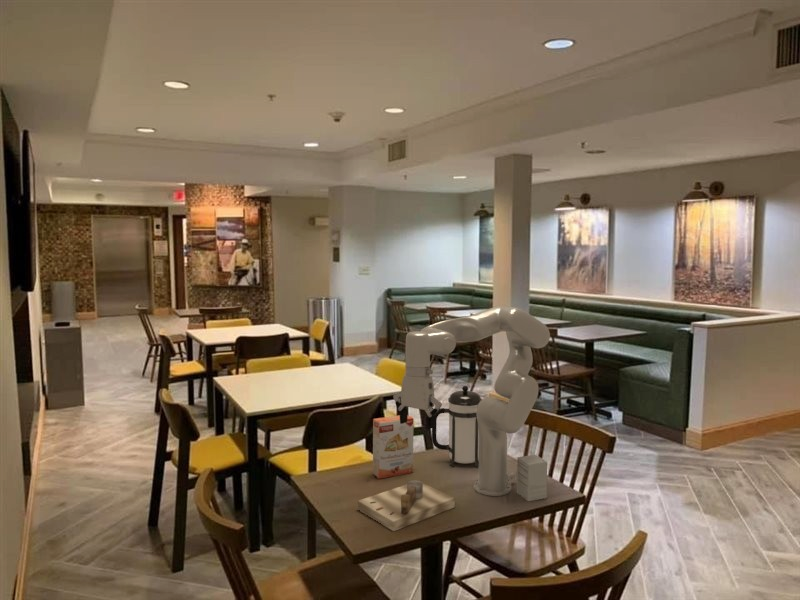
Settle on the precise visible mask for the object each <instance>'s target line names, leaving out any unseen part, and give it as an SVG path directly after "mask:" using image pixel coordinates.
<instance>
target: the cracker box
mask: <svg viewBox="0 0 800 600" xmlns="http://www.w3.org/2000/svg"><path fill="white" fill-rule="evenodd" d="M414 419H415V418H413V417H412V416H410V415H409V414H407V422H405V423H403V424H400V414H399V415H393V416H385V417H378V418H373V419H372V425H373V427H372V474H373V475H374V476H375V477H376V478H377V479H378V480H379V479H385V478H391V477H395V476H402V475H406V474H412V473H413V472H414V471H413V470H414V469H413V467H414V466H413V465H414V424H415V423H414Z"/></svg>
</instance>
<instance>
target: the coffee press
mask: <svg viewBox="0 0 800 600" xmlns="http://www.w3.org/2000/svg"><path fill="white" fill-rule="evenodd" d="M461 389H462V390H457V391H454V392H452V393H451V394H450V395H449V397H448V398H447V399H448V406H449V407H448V408H445V407H441V408H440V409H439V412H437V413H436V415H434V426H433V428H431V442H432V444H433V446H434V447H435V448H436V449H439V450H442V451H443V450H444V451H448V457H449V459H450V462H449V467H452V468H454V467H455V466H456V465H457V464H473V466H474V467H475V469H477V468H478V469H479V427H478V421H477V415H476V410H477V406H478V404H479V402H480V401H481V400H482V399H483V398H482V397H481V396H480V394H479V393H477V392H475V391H472V390H469V387H468V385H463V386H462V388H461ZM441 414H448V417H449V418H448V444H440V443H439V441H438V439H437V422H438V421H437V420H438V417H439V415H441Z"/></svg>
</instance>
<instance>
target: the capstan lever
mask: <svg viewBox="0 0 800 600" xmlns="http://www.w3.org/2000/svg"><path fill="white" fill-rule="evenodd" d="M423 483H424V482H422V481H420V480H409V481H407V483H406V484H407V492H406V494H403V495H401V513H405V514H407V513H408V511H409V510H410V508H411V506H412V505H413V503H414V501H415V500H416V499H419V498H421V497H422V496H423Z"/></svg>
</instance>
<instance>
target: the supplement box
mask: <svg viewBox="0 0 800 600" xmlns="http://www.w3.org/2000/svg"><path fill="white" fill-rule="evenodd" d="M516 460H517V463H516V464H517V465H516V469H517V470H516V471H517V472H516V473H517V474H516V493H517V494H518V495H519V496H520V495H521V498H523V497H524V498H525V499H524V498H523V499H524V500H526V501H527V502H531V501H537V500H543V498H544V499H547V496H548V461H547V460H545V459H543V458H542V457H540V456H539V455H537V454H531V455H530V454H529V455H523V456H517V458H516Z"/></svg>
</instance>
